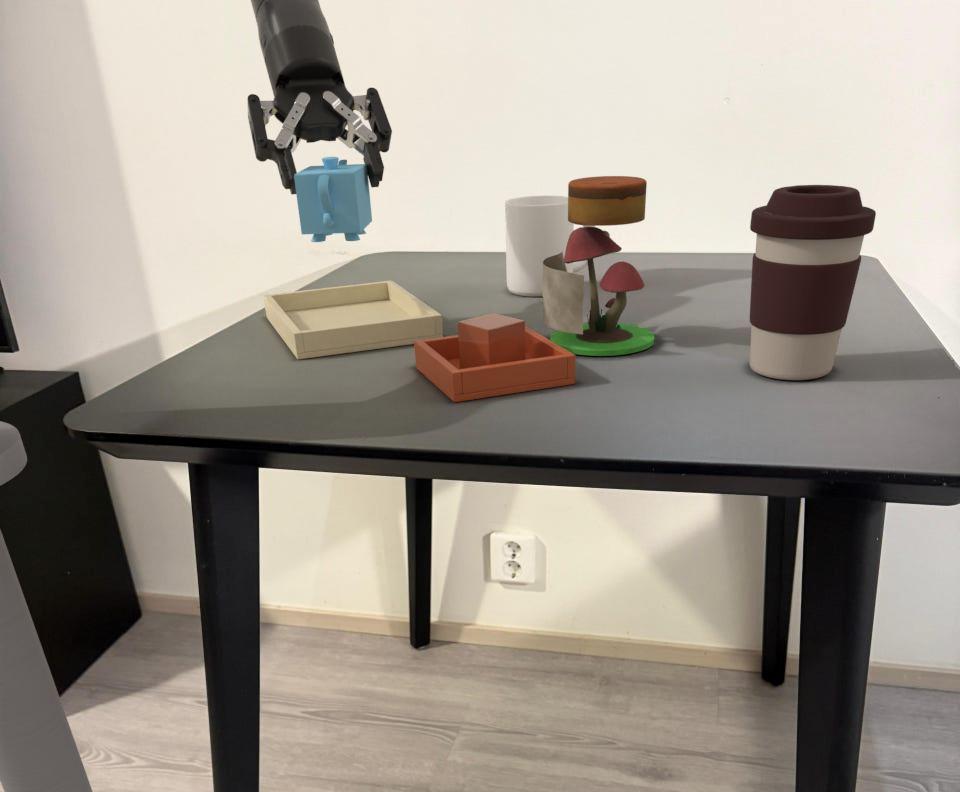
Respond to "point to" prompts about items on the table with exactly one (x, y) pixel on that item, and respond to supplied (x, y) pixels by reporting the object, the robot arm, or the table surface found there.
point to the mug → (535, 240)
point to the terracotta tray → (494, 368)
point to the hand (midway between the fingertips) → (336, 185)
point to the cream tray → (350, 319)
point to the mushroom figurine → (565, 291)
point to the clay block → (490, 340)
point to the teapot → (333, 199)
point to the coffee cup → (804, 277)
